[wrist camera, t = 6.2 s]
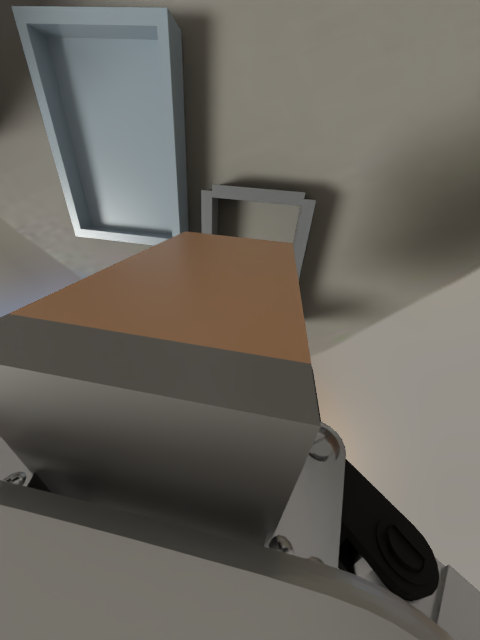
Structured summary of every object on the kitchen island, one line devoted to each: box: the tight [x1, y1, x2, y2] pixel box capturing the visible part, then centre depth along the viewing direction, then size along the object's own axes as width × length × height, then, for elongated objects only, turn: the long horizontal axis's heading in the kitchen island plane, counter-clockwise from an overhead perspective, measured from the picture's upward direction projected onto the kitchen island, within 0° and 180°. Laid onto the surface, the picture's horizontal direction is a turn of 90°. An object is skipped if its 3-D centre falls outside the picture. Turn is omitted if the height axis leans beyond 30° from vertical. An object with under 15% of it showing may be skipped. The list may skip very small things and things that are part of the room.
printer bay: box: [201, 184, 316, 281], centre depth 21 cm, size 10×14×10 cm
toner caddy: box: [0, 231, 321, 546], centre depth 9 cm, size 5×9×9 cm, turn 176°
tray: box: [11, 6, 189, 245], centre depth 20 cm, size 12×16×2 cm
